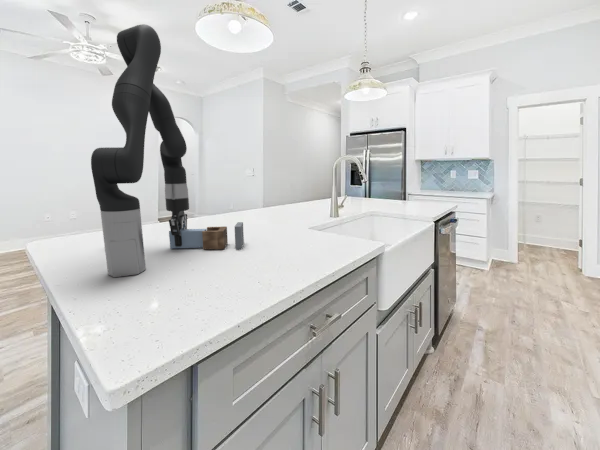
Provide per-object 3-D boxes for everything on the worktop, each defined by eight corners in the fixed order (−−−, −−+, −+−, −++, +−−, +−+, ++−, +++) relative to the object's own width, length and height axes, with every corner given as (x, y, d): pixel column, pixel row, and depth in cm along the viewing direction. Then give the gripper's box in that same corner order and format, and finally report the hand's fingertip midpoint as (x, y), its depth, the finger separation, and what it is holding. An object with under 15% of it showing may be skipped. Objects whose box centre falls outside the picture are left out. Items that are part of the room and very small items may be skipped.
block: (203, 249, 109) (202, 231, 108) (208, 243, 118) (207, 226, 116) (223, 248, 109) (222, 231, 108) (227, 242, 118) (226, 226, 117)
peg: (170, 248, 110) (168, 231, 109) (173, 245, 114) (172, 229, 113) (205, 247, 111) (204, 230, 110) (207, 244, 115) (206, 228, 114)
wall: (235, 249, 110) (234, 226, 108) (238, 243, 118) (237, 222, 117) (241, 249, 110) (240, 226, 108) (243, 243, 119) (243, 222, 117)
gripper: (172, 195, 116) (175, 240, 119) (158, 198, 102) (162, 250, 105) (193, 194, 117) (196, 240, 120) (182, 198, 103) (185, 249, 106)
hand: (180, 244), depth 112 cm, fingers closed on peg, 4 cm apart
